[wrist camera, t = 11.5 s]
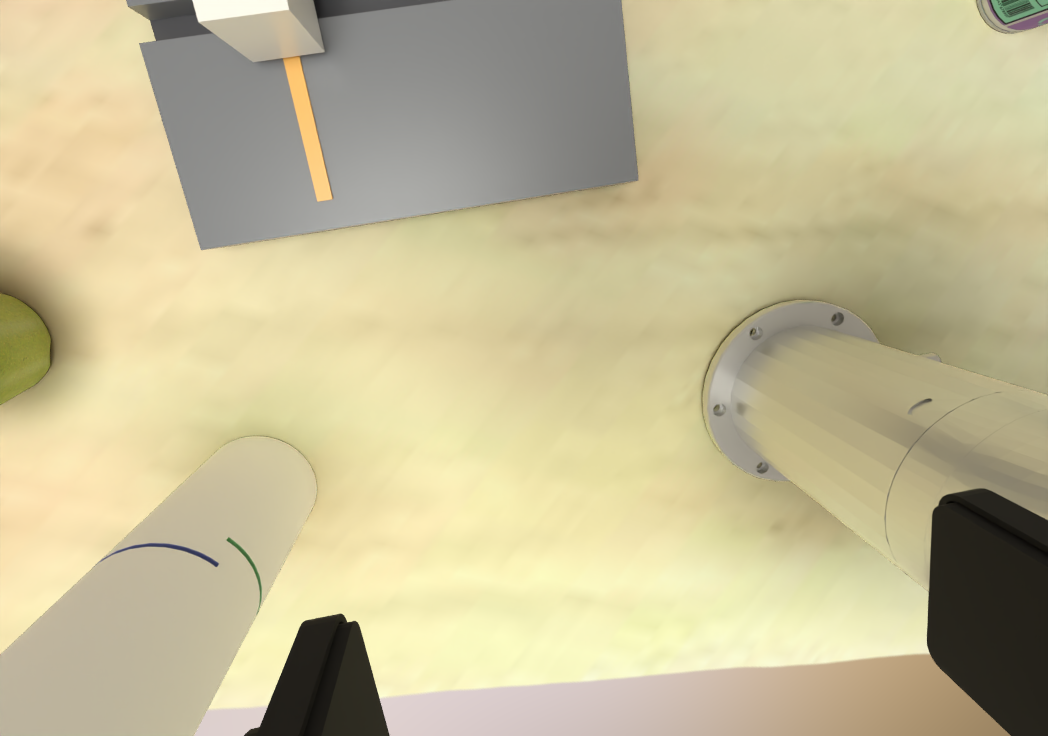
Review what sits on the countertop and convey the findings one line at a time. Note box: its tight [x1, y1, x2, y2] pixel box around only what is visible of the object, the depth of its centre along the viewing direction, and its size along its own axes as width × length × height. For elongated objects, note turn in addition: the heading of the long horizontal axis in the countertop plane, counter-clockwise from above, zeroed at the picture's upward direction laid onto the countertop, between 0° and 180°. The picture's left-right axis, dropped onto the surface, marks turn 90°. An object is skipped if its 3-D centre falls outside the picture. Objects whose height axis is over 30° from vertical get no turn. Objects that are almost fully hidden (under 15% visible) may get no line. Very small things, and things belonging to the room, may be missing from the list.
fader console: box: [126, 0, 638, 250], centre depth 30 cm, size 24×22×3 cm
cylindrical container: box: [0, 436, 317, 736], centre depth 25 cm, size 7×7×25 cm
